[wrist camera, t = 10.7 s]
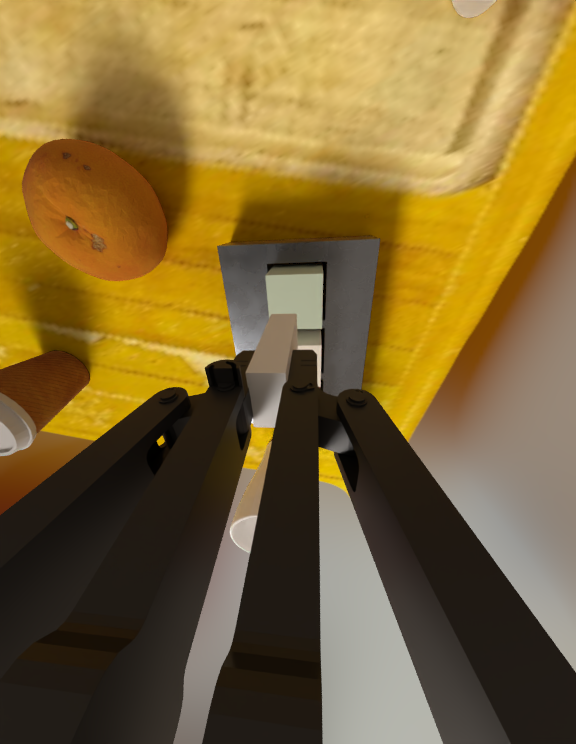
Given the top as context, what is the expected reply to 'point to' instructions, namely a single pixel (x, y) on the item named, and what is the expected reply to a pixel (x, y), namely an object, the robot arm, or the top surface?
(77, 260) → the fruit
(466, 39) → the top surface
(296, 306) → the key sage
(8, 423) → the disposable coffee cup
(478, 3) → the cup
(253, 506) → the cup
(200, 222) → the top surface
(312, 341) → the key cream
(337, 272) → the panel
